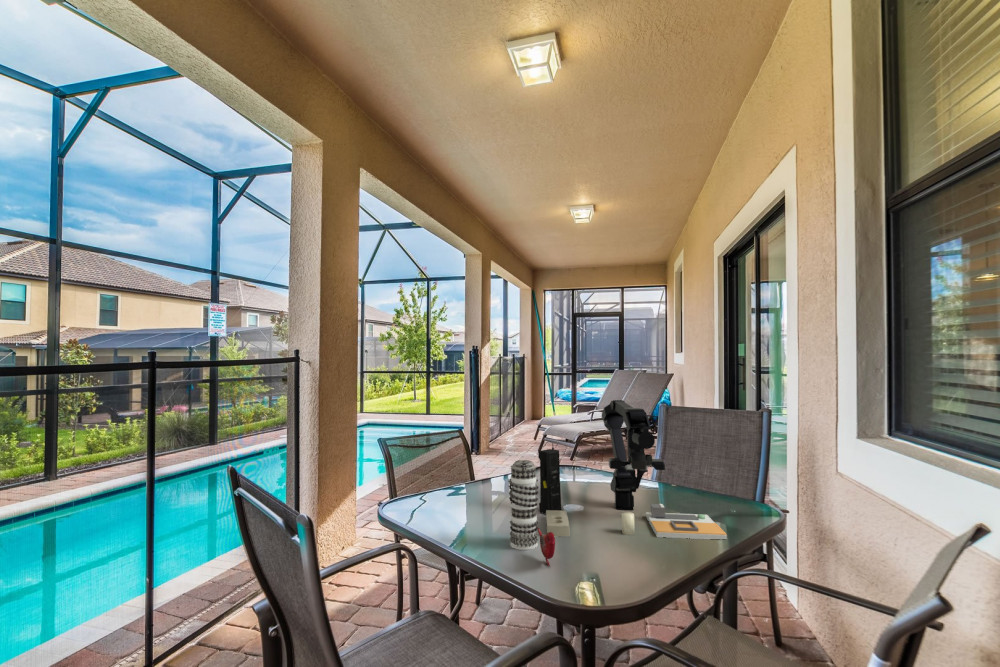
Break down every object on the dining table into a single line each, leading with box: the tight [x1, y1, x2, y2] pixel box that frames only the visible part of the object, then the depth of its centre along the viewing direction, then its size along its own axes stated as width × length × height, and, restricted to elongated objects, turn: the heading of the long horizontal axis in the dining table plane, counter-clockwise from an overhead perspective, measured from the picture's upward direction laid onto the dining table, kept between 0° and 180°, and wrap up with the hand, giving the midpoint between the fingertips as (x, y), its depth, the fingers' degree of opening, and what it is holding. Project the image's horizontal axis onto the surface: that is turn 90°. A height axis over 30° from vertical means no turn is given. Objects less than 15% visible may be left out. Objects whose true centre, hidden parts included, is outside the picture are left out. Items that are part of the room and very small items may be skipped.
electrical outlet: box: [545, 510, 571, 536], centre depth 155 cm, size 7×4×18 cm
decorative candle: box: [508, 459, 539, 551], centre depth 141 cm, size 9×9×25 cm
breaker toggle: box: [650, 503, 666, 517], centre depth 161 cm, size 4×4×3 cm
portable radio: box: [537, 443, 563, 514], centre depth 172 cm, size 8×6×25 cm
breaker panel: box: [645, 512, 728, 540], centre depth 154 cm, size 21×20×3 cm
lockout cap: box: [621, 511, 636, 536], centre depth 150 cm, size 4×4×6 cm
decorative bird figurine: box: [537, 527, 556, 567], centre depth 129 cm, size 3×18×10 cm, turn 9°
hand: (636, 488), depth 163 cm, fingers closed
